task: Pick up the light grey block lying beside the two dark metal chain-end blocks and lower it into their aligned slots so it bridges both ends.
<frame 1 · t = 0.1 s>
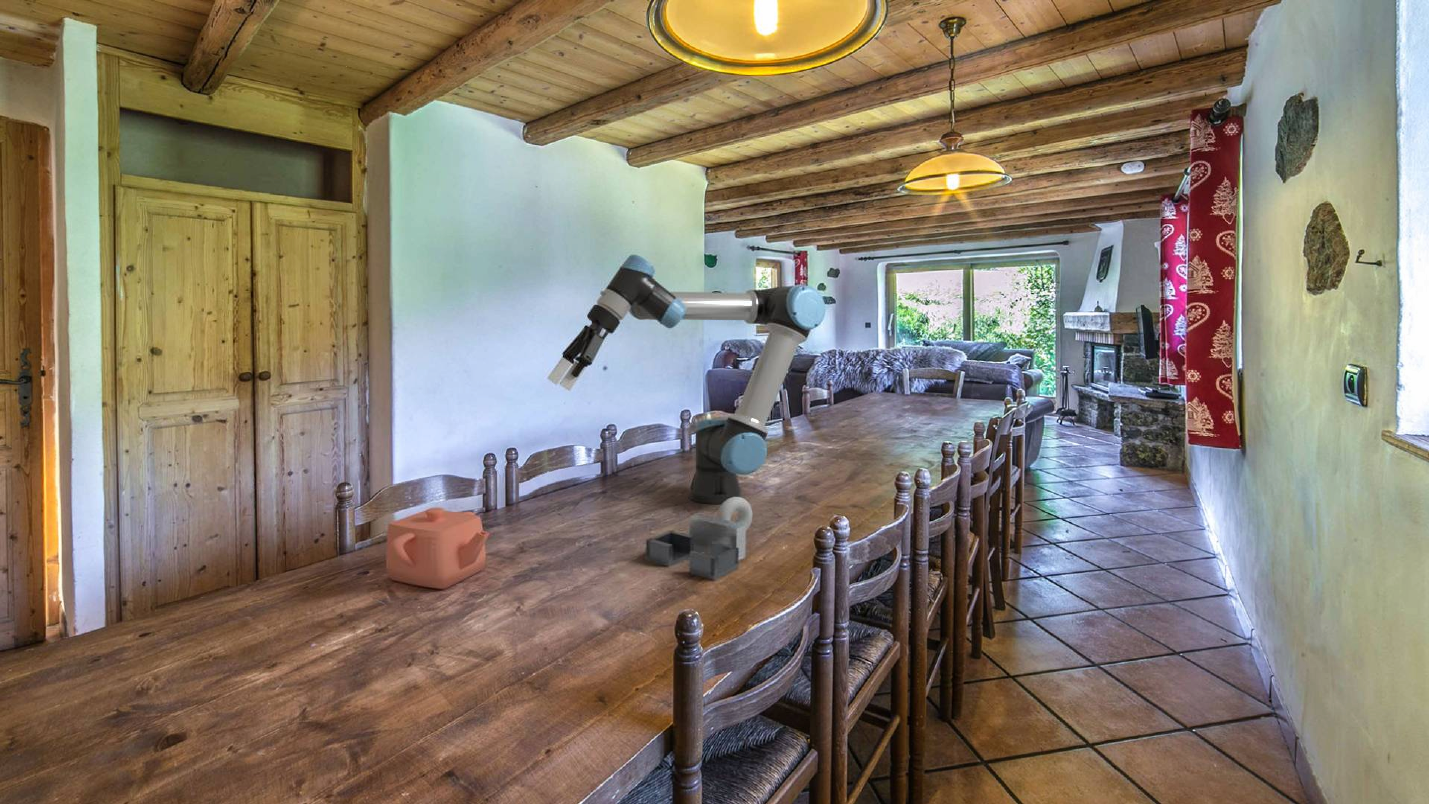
hand: (557, 384, 161), 36 cm above the table, tool tilted 35°, fingers open, 13 cm apart
teapot: (447, 578, 136), on the table
end link b: (714, 570, 141), on the table
donut: (734, 538, 163), on the table
light grey block: (716, 553, 152), on the table
end link a: (670, 558, 148), on the table
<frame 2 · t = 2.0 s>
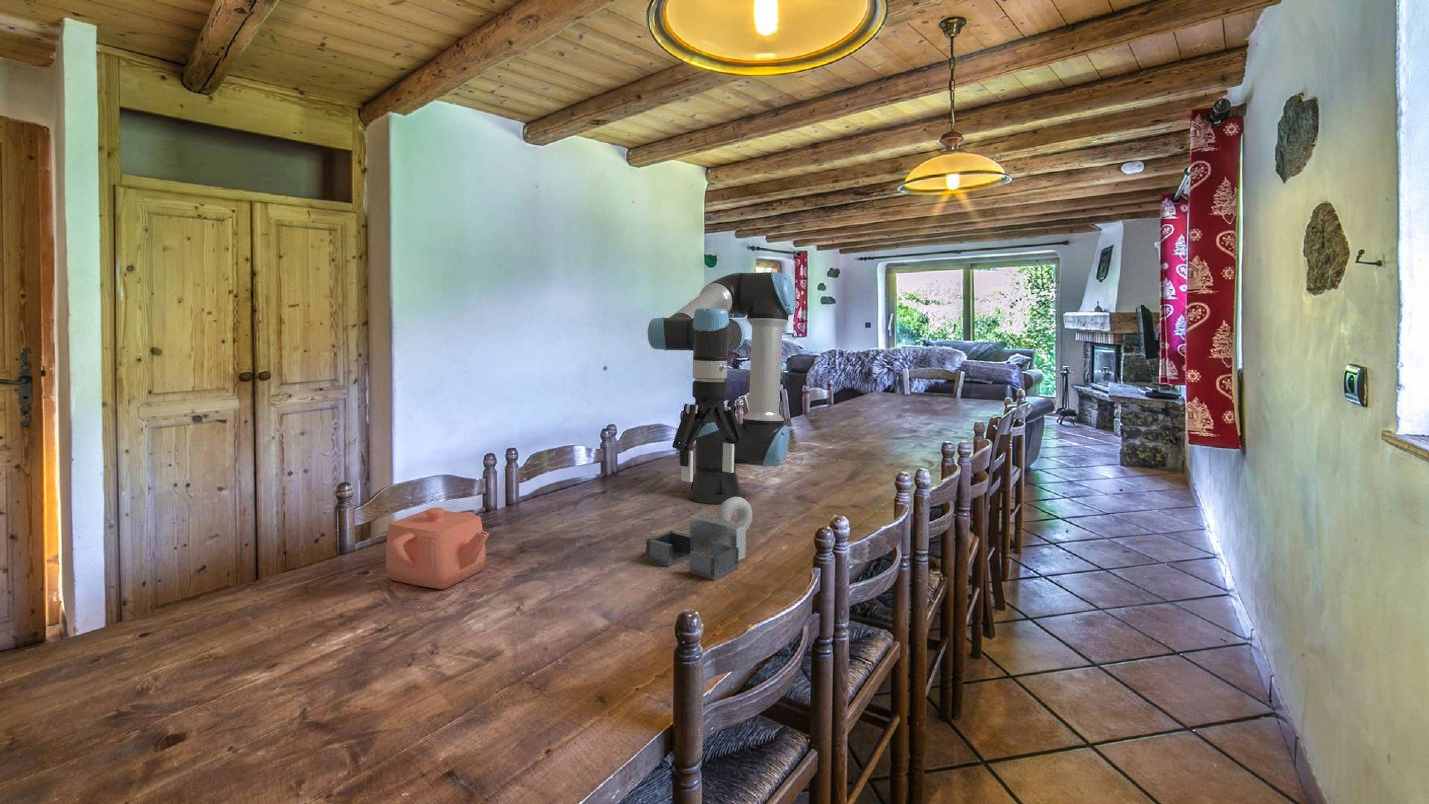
hand: (708, 476, 150), 17 cm above the table, tool pointing down, fingers open, 13 cm apart
nothing on the table moved.
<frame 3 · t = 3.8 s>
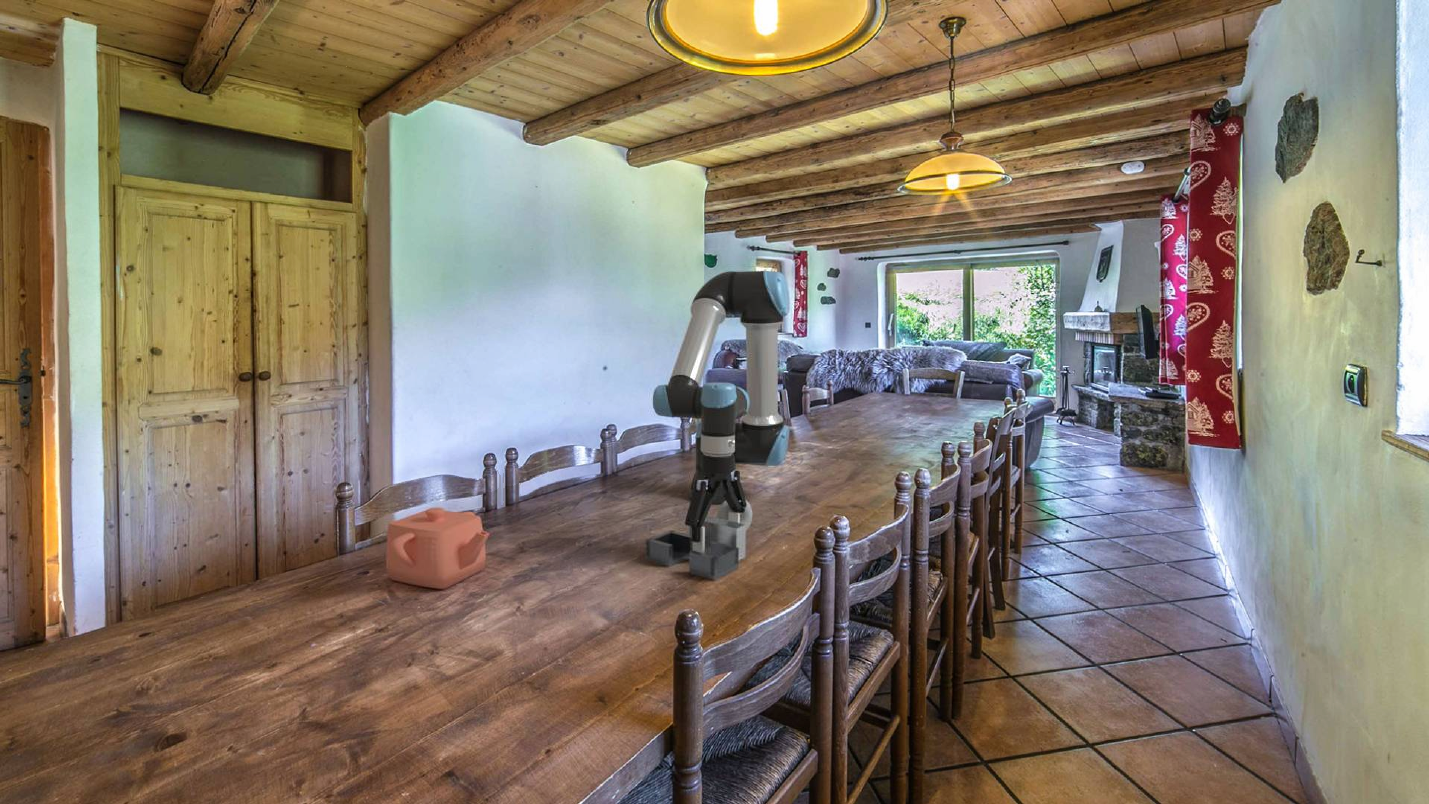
hand: (716, 547, 152), 1 cm above the table, tool pointing down, fingers open, 12 cm apart
nothing on the table moved.
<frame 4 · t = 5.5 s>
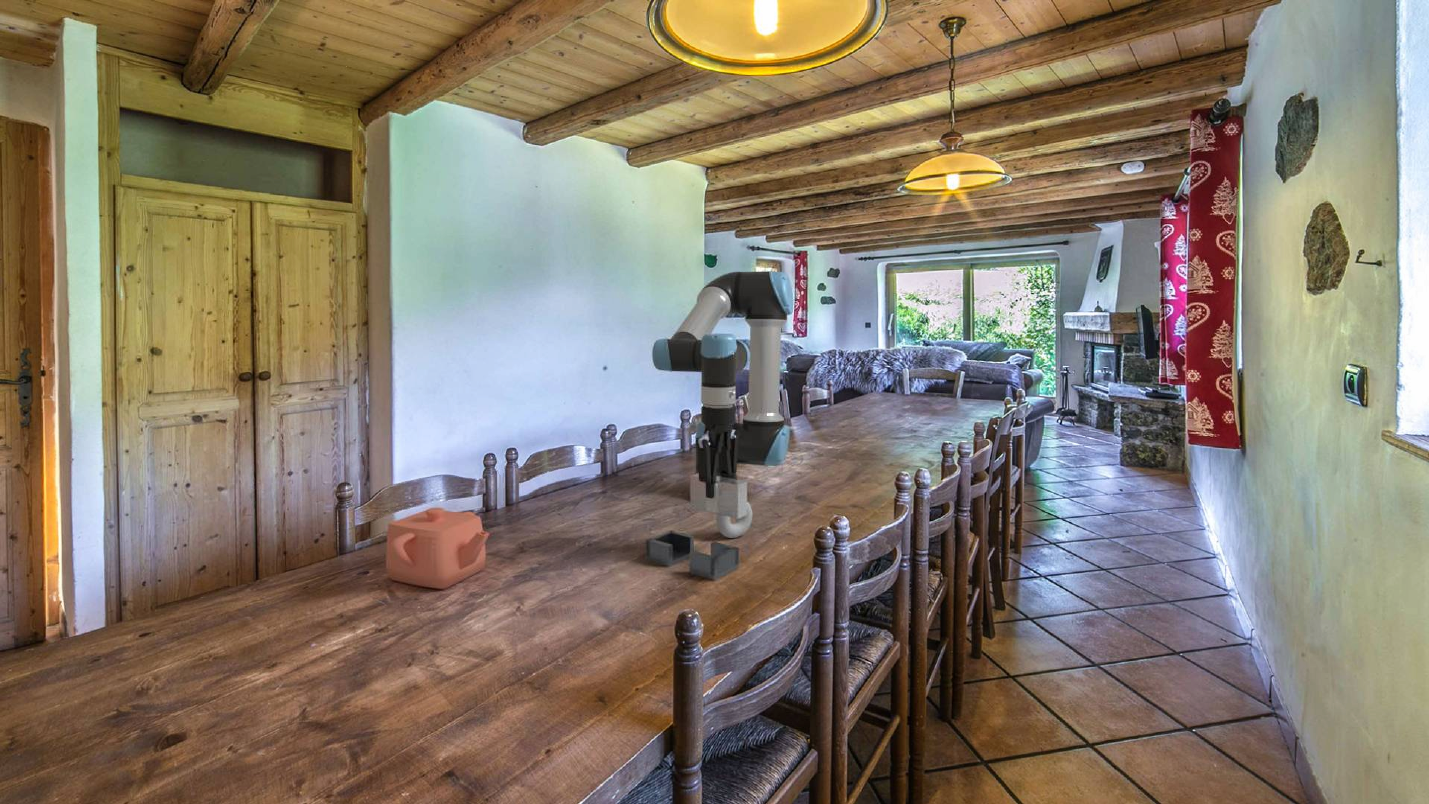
hand: (718, 508, 151), 10 cm above the table, tool pointing down, fingers closed on light grey block, 3 cm apart
light grey block: (718, 511, 151), point 9 cm above the table, touching gripper
everything else where it was.
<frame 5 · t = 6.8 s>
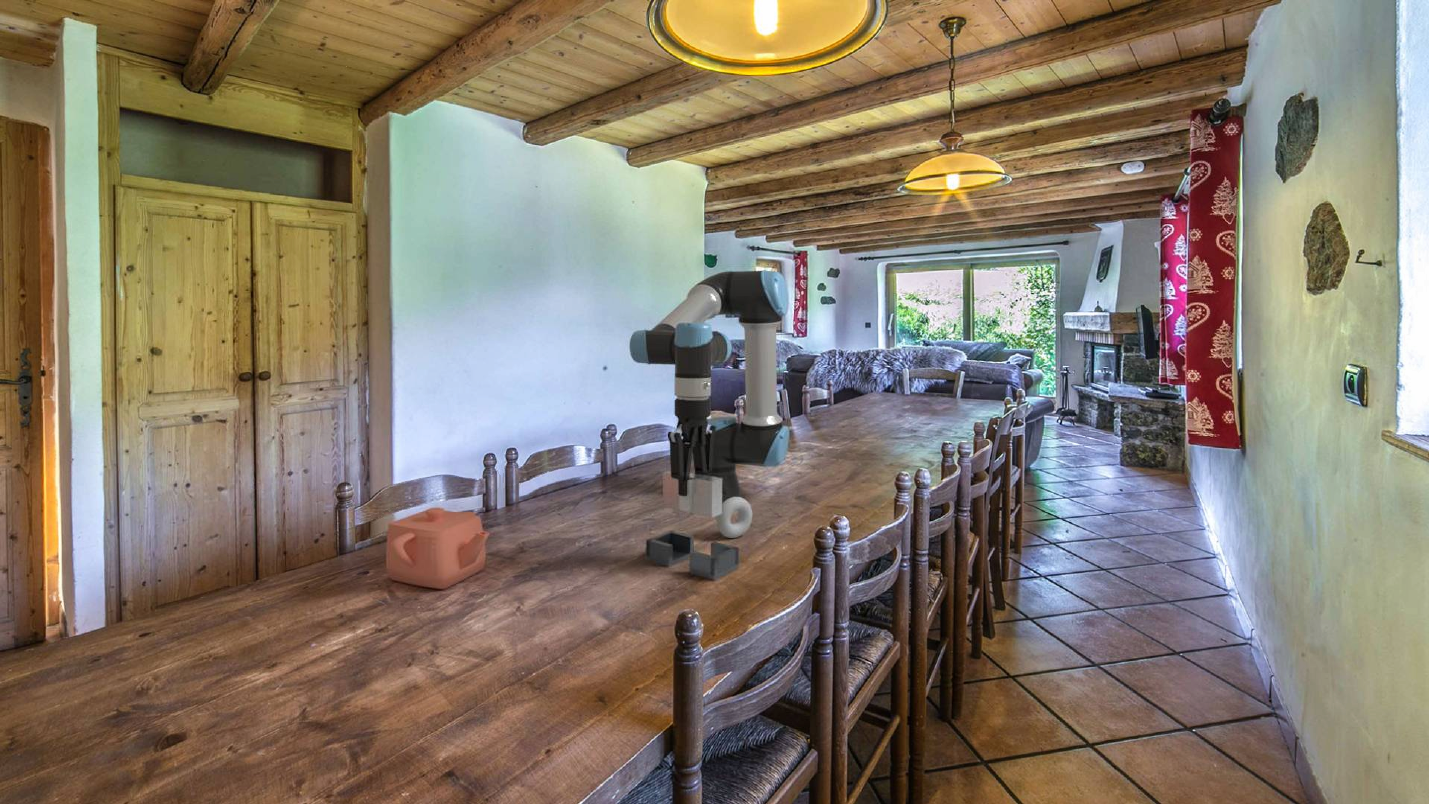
hand: (691, 508, 143), 12 cm above the table, tool pointing down, fingers closed on light grey block, 3 cm apart
light grey block: (692, 510, 143), point 12 cm above the table, touching gripper
everything else where it was.
when the fingers open (2 cm above the table, at t = 8.6 s): light grey block stays where it is, resting on end link a, end link b.
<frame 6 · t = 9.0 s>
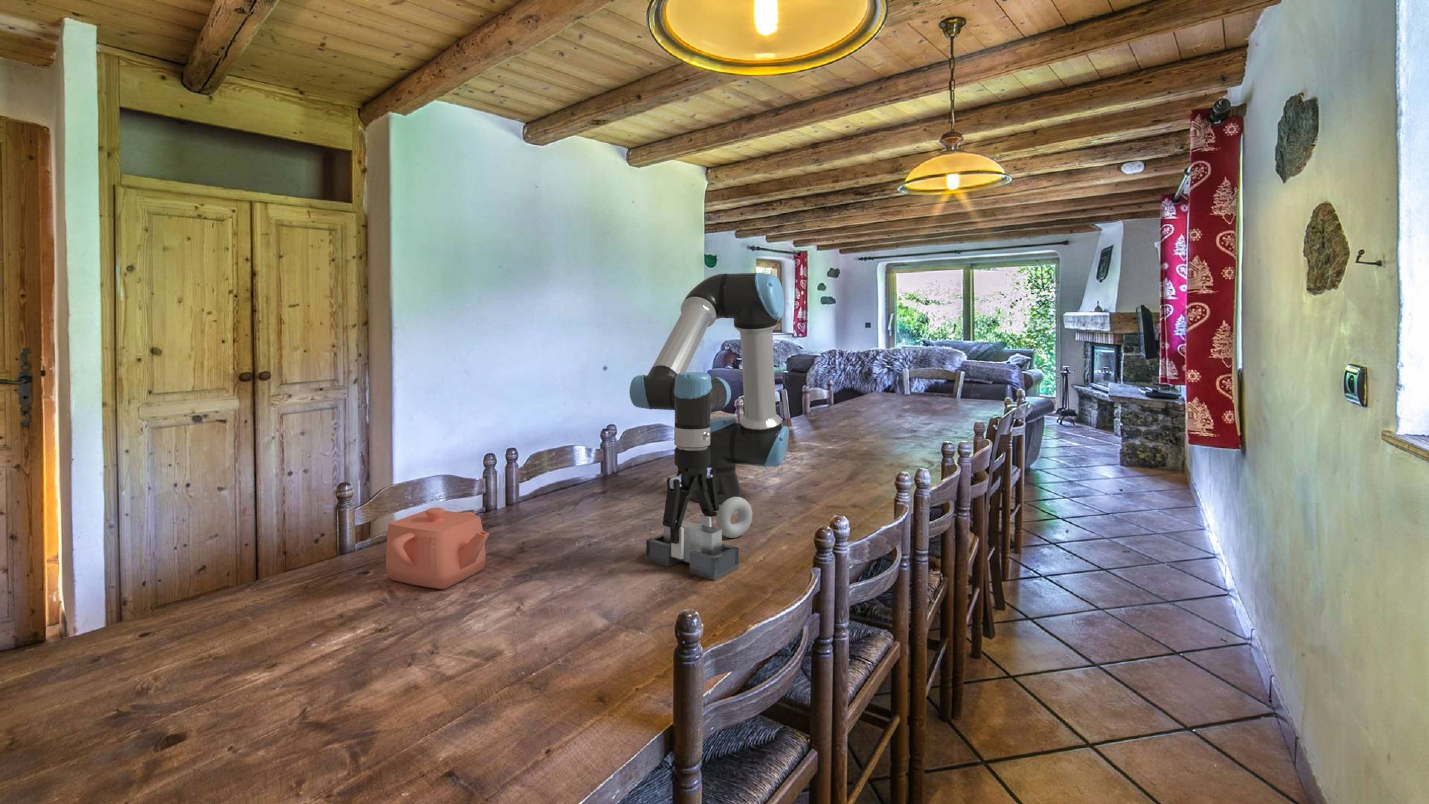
hand: (691, 551, 144), 3 cm above the table, tool pointing down, fingers open, 9 cm apart
light grey block: (692, 559, 145), point 1 cm above the table, touching end link a, end link b
everything else where it was.
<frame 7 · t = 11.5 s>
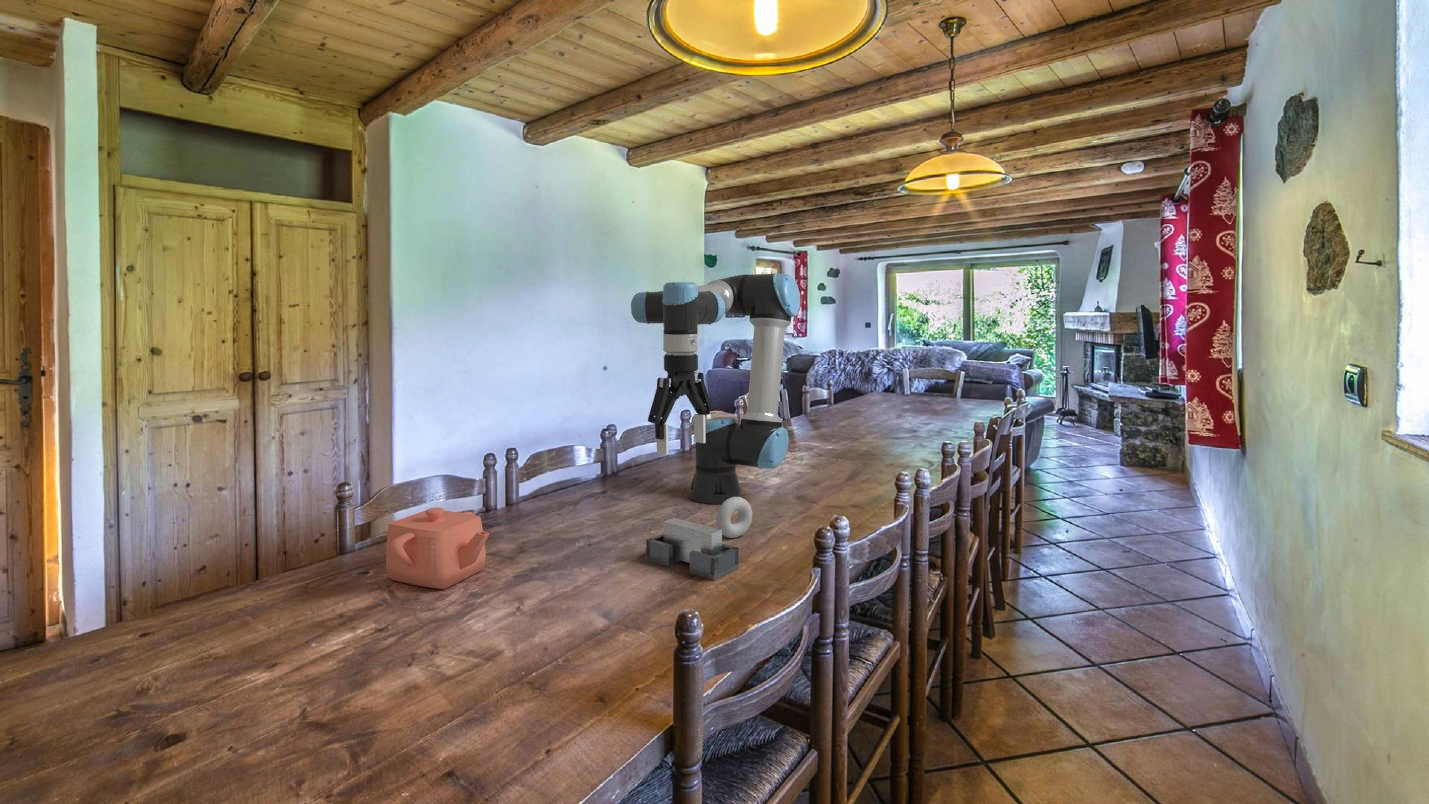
hand: (681, 447, 153), 23 cm above the table, tool pointing down, fingers open, 13 cm apart
nothing on the table moved.
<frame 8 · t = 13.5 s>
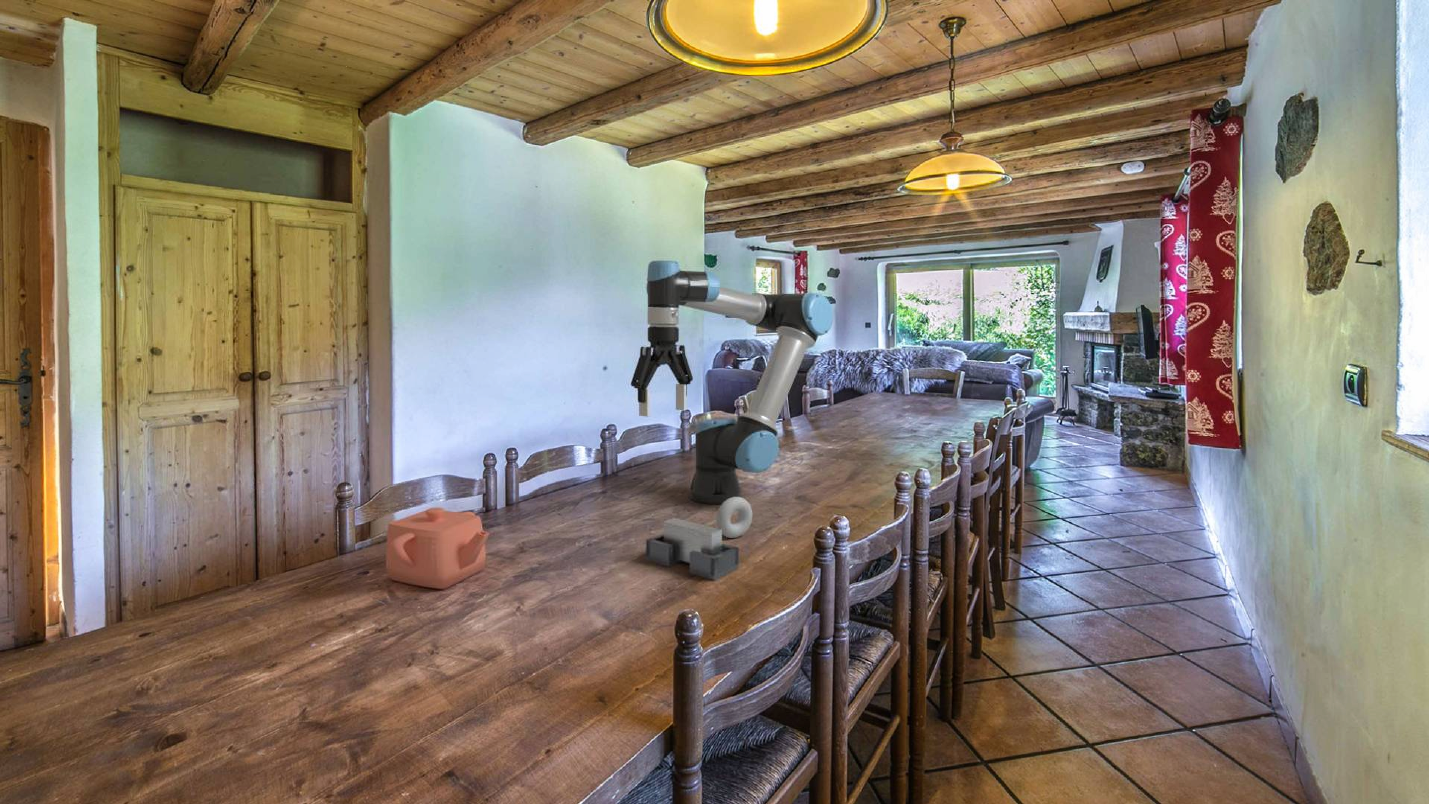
hand: (663, 413, 167), 29 cm above the table, tool pointing down, fingers open, 13 cm apart
nothing on the table moved.
at the end: light grey block 0.1 cm from the target spot, point 1.0 cm above the table; light grey block tilted 0°; the gripper is holding nothing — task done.
